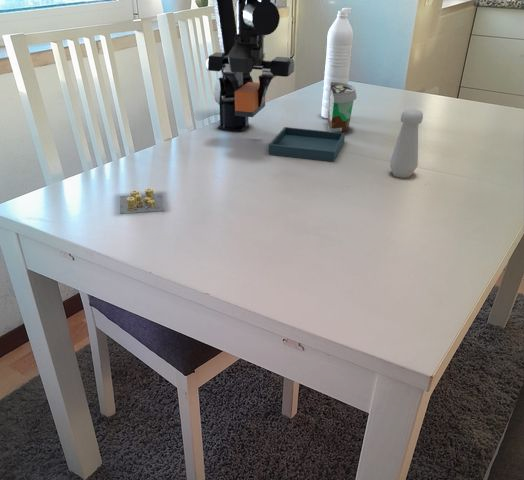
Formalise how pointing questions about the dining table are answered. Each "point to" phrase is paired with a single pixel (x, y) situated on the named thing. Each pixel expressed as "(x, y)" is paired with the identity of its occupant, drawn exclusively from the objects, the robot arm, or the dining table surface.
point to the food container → (340, 106)
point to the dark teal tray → (307, 144)
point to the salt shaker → (406, 144)
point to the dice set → (141, 202)
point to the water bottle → (337, 56)
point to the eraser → (248, 100)
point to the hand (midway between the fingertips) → (250, 105)
